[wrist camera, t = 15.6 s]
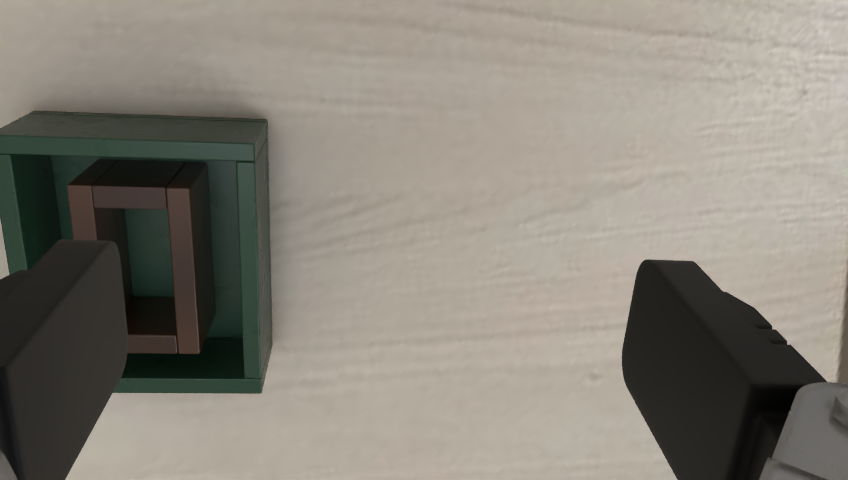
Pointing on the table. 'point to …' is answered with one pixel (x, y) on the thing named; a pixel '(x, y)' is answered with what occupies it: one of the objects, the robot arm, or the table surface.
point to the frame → (189, 243)
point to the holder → (157, 228)
